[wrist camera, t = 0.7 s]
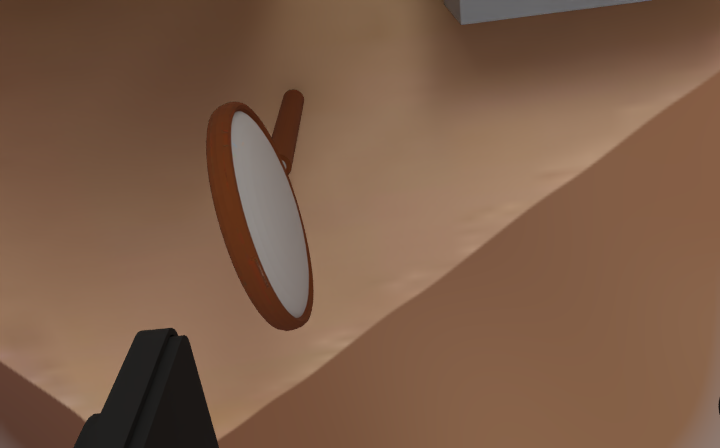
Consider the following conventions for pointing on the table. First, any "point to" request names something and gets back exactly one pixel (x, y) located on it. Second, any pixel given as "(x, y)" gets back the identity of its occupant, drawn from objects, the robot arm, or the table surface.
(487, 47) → the table surface
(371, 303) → the table surface
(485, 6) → the box
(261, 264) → the magnifying glass
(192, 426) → the robot arm
